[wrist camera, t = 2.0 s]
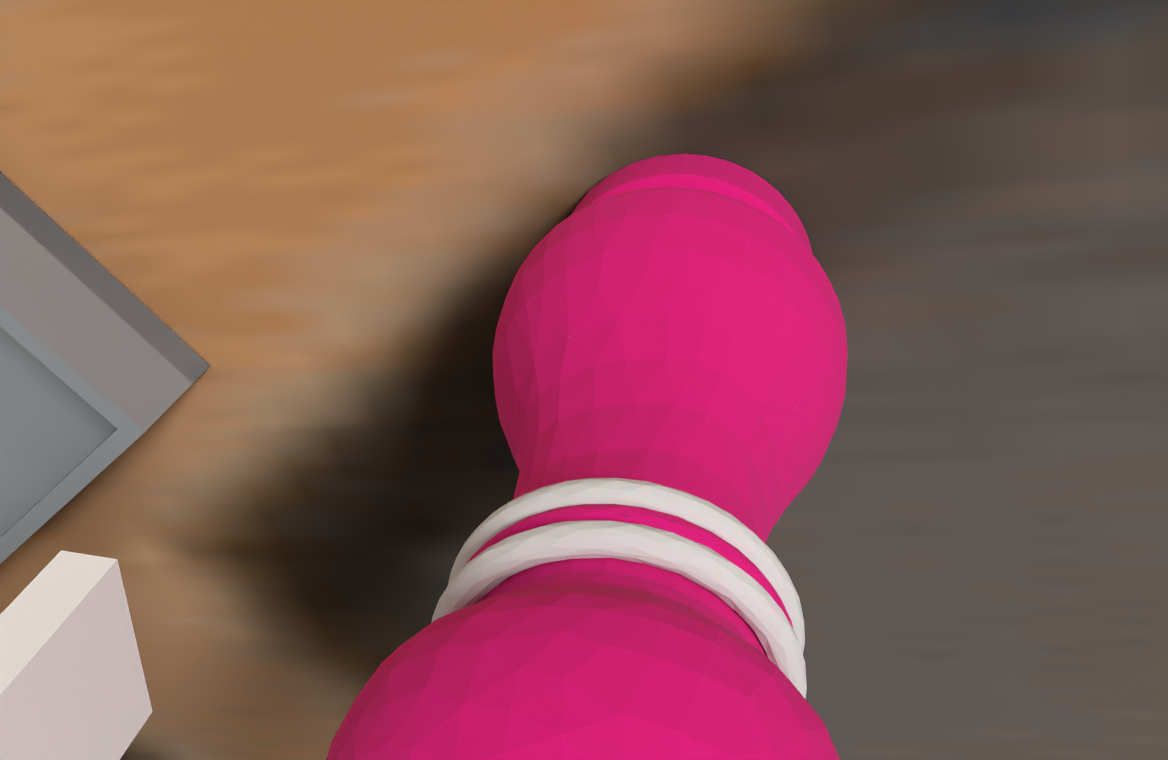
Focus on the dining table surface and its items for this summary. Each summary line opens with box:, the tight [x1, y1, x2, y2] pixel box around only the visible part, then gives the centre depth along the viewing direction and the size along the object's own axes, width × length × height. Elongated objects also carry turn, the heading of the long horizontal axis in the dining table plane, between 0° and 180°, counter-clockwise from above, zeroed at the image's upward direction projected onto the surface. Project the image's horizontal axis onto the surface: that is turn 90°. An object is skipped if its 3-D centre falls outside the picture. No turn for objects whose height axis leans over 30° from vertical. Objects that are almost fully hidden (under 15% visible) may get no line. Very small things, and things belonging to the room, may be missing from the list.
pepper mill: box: [326, 154, 848, 760], centre depth 16 cm, size 7×7×20 cm
